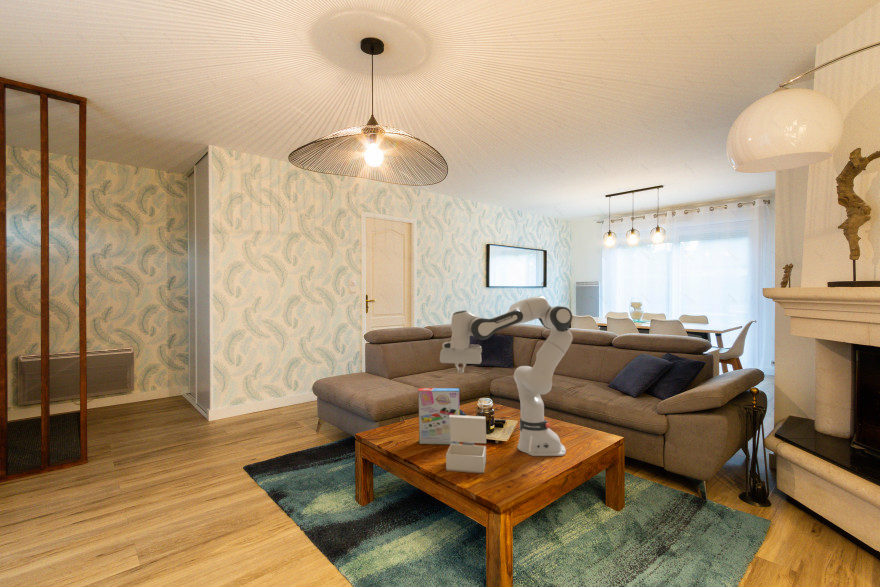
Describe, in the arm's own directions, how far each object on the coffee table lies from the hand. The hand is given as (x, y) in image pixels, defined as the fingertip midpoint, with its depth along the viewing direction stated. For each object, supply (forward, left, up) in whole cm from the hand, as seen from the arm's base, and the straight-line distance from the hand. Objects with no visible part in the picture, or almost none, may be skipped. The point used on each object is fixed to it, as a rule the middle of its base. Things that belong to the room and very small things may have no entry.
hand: (460, 372), depth 197 cm
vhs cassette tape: (+6, -31, -38) cm, 49 cm away
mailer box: (-5, +19, -37) cm, 42 cm away
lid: (-5, +15, -27) cm, 31 cm away
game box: (+12, -6, -37) cm, 40 cm away
